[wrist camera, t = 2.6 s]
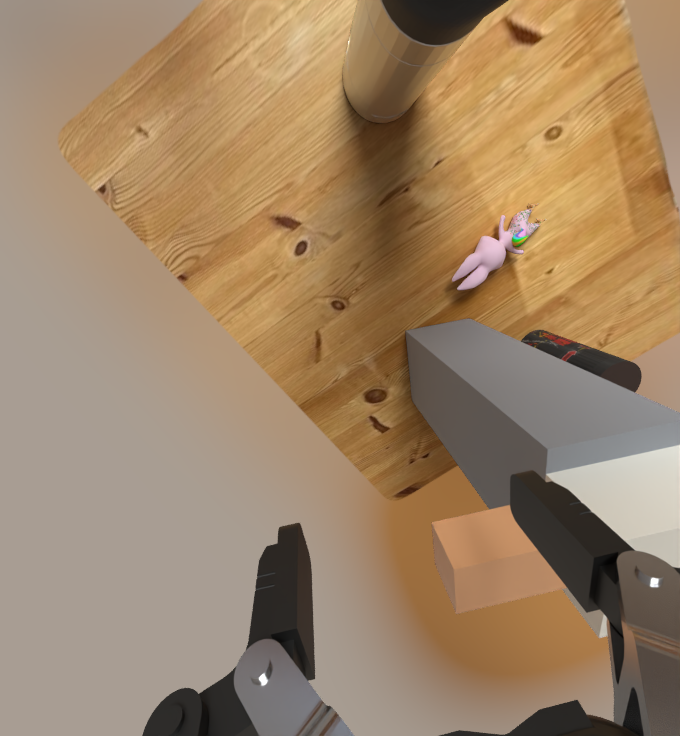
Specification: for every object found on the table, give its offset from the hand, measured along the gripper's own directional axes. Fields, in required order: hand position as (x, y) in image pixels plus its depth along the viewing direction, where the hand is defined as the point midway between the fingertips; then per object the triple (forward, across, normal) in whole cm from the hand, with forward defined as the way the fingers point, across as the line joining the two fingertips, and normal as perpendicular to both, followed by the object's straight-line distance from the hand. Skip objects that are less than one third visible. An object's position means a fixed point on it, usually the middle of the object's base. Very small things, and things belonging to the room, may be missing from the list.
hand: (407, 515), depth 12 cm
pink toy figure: (+39, -24, -5) cm, 46 cm away
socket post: (+38, -16, +11) cm, 43 cm away
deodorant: (+39, -32, +12) cm, 52 cm away
